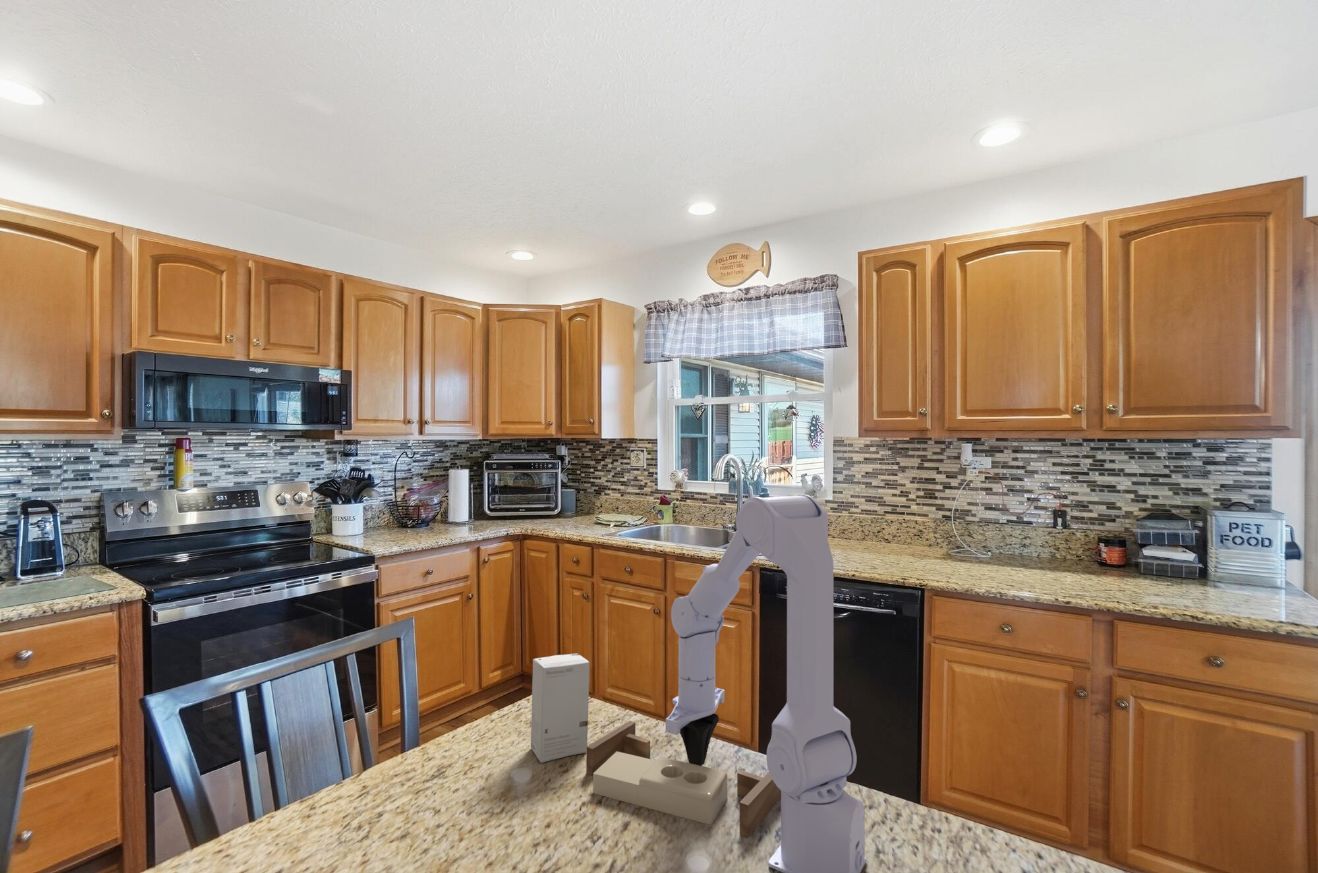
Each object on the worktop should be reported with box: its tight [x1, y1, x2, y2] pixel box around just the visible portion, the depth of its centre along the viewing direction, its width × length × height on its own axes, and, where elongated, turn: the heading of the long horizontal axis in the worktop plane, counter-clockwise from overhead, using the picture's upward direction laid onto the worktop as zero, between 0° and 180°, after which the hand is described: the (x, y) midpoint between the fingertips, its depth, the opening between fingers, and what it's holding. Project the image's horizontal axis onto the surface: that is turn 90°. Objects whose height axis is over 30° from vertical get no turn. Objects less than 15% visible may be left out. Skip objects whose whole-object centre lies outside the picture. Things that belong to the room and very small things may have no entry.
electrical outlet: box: [592, 752, 728, 825], centre depth 88 cm, size 7×4×18 cm
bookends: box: [585, 720, 781, 838], centre depth 91 cm, size 27×11×4 cm, turn 56°
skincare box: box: [530, 653, 590, 764], centre depth 101 cm, size 8×6×15 cm
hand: (696, 763), depth 94 cm, fingers closed
